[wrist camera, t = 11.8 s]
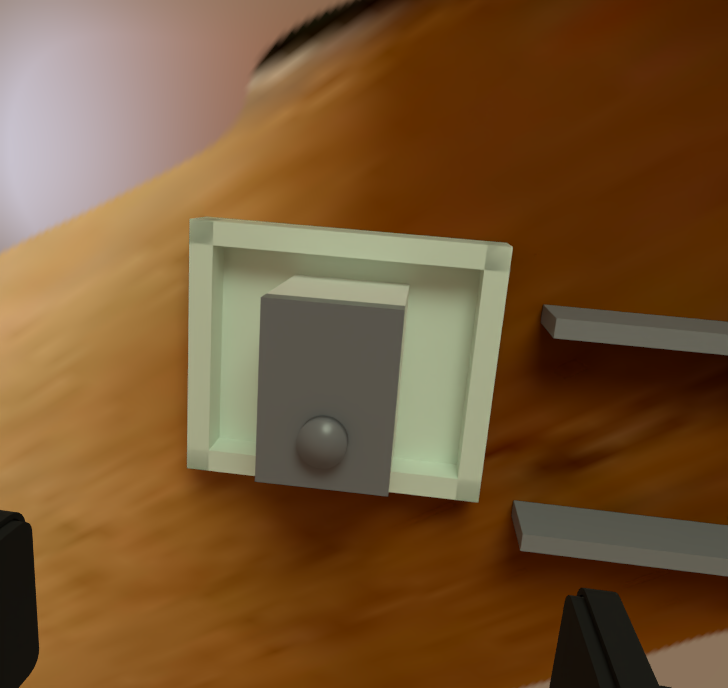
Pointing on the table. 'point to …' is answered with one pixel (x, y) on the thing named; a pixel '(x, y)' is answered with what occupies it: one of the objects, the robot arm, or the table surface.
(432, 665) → the table surface
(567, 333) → the bay
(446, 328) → the dock tray
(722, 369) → the table surface
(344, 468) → the grey box with knob
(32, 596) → the robot arm
